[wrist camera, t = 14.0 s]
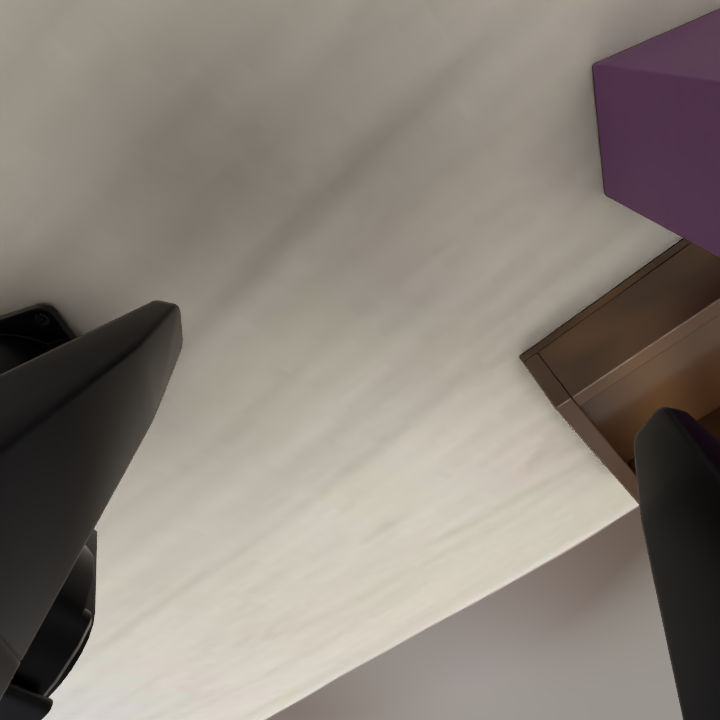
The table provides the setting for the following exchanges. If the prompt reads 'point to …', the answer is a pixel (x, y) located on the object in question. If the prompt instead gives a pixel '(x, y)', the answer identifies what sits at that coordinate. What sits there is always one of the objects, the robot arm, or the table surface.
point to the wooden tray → (638, 356)
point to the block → (665, 129)
